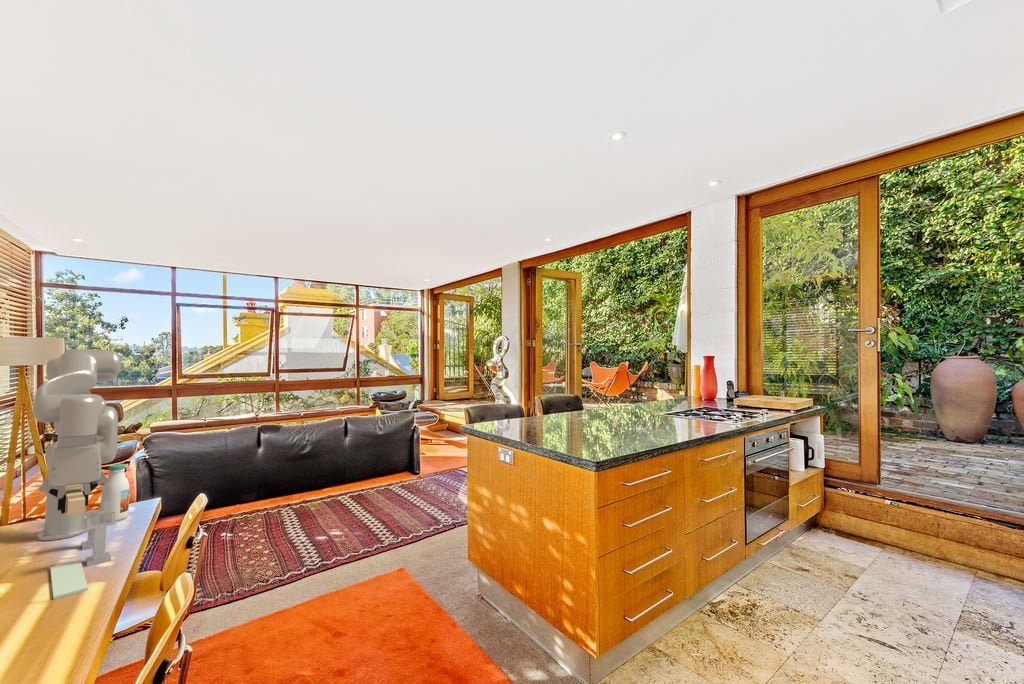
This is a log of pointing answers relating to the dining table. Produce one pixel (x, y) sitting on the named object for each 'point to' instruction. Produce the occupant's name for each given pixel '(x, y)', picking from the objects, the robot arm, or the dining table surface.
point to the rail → (74, 501)
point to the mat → (68, 579)
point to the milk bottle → (116, 493)
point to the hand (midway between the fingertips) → (72, 510)
